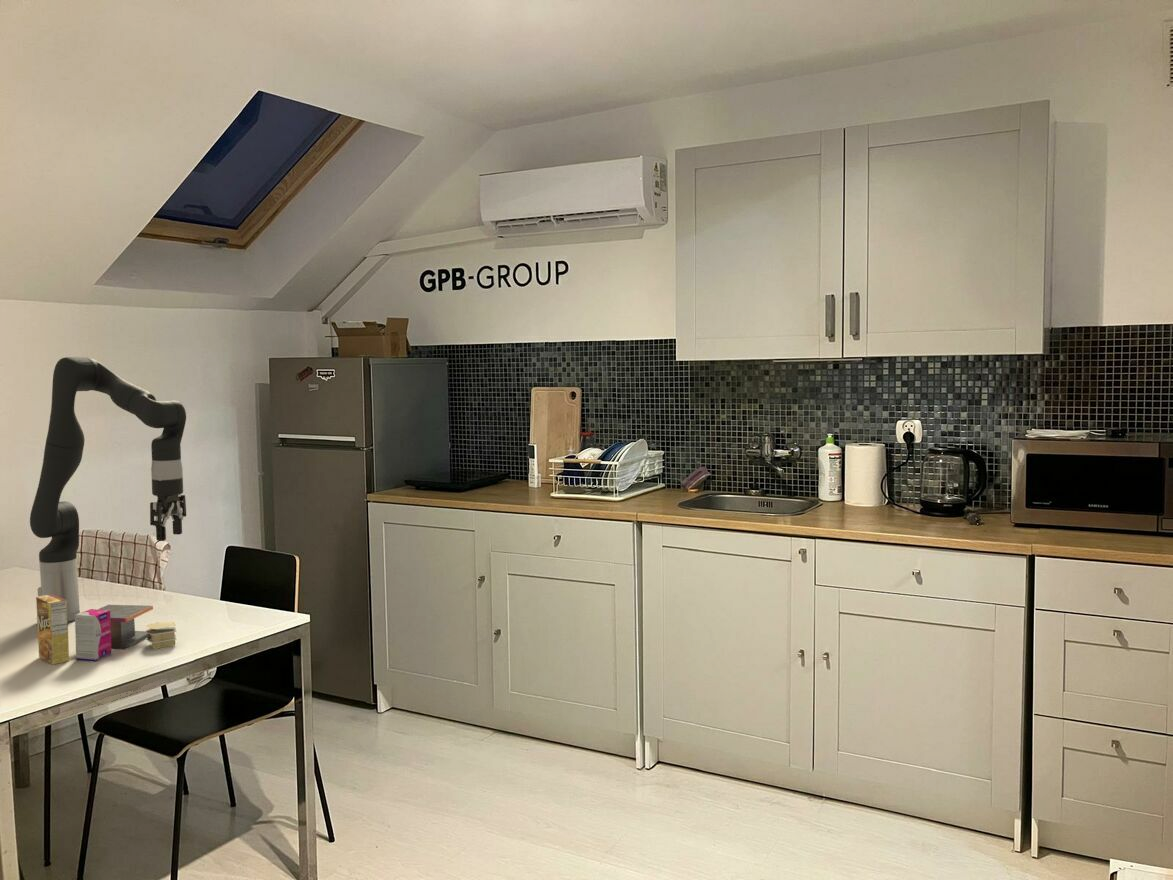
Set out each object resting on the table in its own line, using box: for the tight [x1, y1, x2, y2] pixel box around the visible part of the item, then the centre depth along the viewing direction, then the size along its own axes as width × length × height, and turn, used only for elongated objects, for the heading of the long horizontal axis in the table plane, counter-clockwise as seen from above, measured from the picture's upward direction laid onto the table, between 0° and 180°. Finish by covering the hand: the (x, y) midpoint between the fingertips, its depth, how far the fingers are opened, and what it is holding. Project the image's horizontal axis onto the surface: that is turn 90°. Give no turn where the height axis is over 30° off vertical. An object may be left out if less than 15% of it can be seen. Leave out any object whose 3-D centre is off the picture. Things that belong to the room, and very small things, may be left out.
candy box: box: [35, 594, 70, 666], centre depth 231 cm, size 9×4×15 cm, turn 50°
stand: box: [96, 604, 154, 650], centre depth 246 cm, size 12×12×8 cm
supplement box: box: [74, 608, 112, 662], centre depth 233 cm, size 6×6×12 cm
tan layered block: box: [145, 621, 177, 649], centre depth 243 cm, size 10×9×6 cm
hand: (169, 537), depth 250 cm, fingers open, 8 cm apart
